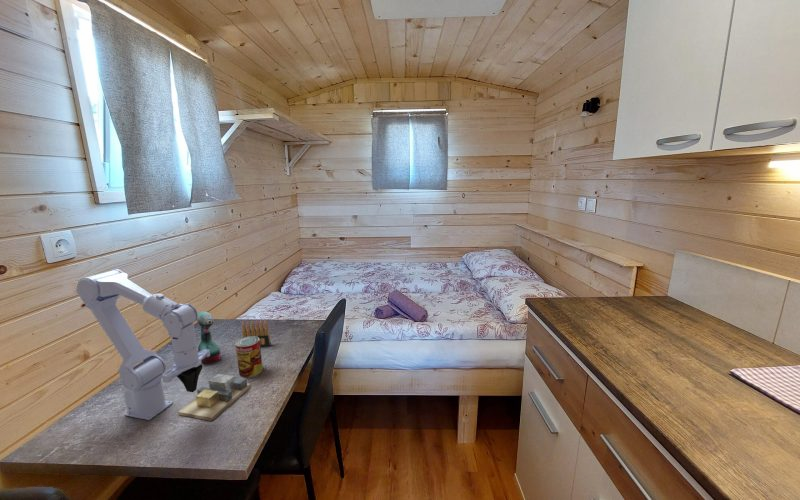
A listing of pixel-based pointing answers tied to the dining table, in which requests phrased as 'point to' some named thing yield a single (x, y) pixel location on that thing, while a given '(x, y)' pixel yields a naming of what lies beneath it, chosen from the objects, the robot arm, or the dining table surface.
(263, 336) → the ammunition clip
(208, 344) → the power drill
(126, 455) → the dining table surface
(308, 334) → the dining table surface
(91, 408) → the dining table surface
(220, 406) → the vise
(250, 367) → the canned food
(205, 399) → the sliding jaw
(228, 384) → the steel block
